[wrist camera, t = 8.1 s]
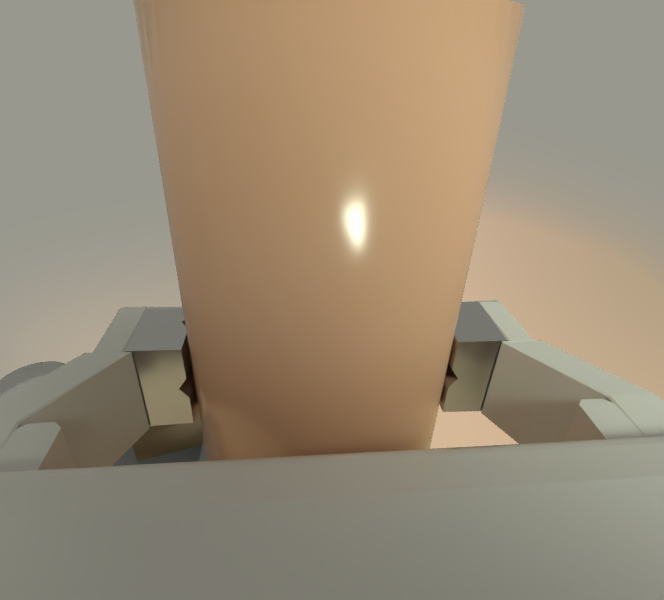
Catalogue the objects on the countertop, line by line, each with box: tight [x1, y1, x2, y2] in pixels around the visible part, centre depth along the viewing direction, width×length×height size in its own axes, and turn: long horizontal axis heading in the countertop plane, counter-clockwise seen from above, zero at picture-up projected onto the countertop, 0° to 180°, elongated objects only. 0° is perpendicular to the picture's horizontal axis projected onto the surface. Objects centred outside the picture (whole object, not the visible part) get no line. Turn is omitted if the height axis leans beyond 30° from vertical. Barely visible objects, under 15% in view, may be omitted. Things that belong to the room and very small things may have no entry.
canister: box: [134, 0, 525, 461], centre depth 9 cm, size 5×5×13 cm
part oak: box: [133, 406, 204, 461], centre depth 27 cm, size 4×4×4 cm
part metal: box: [0, 362, 64, 400], centre depth 26 cm, size 4×4×4 cm
